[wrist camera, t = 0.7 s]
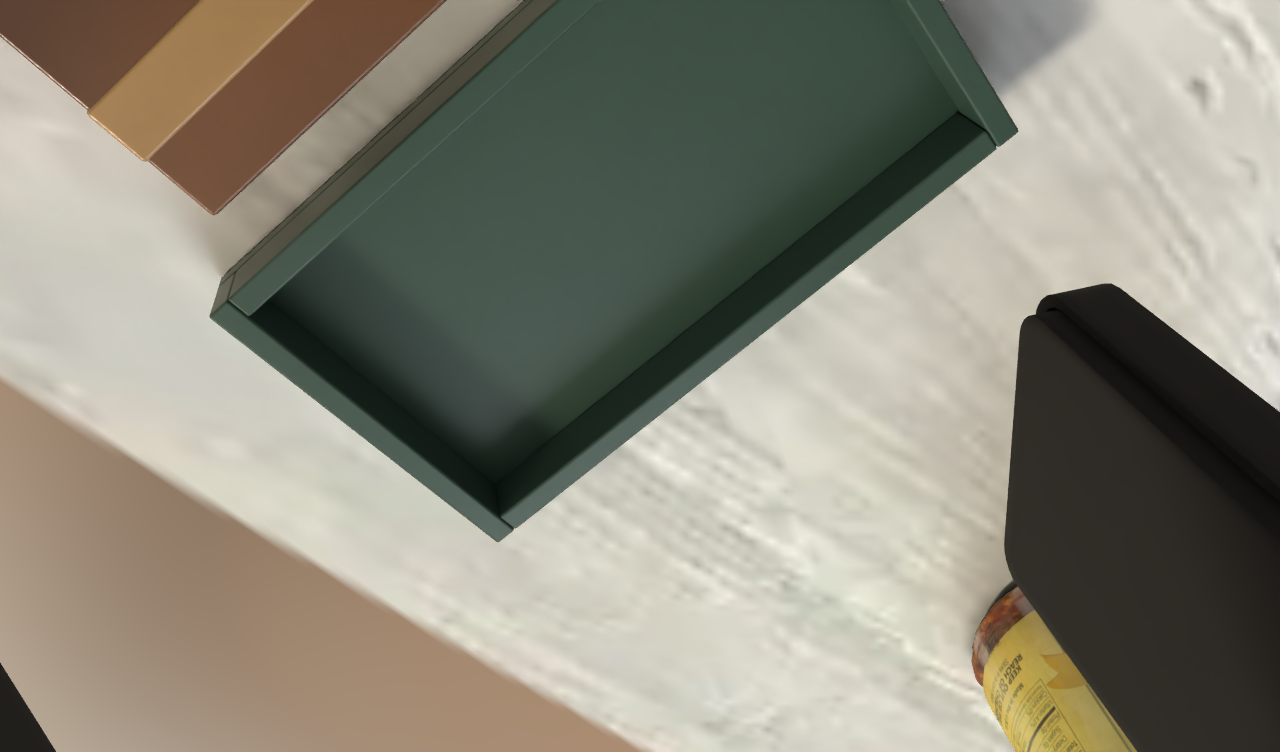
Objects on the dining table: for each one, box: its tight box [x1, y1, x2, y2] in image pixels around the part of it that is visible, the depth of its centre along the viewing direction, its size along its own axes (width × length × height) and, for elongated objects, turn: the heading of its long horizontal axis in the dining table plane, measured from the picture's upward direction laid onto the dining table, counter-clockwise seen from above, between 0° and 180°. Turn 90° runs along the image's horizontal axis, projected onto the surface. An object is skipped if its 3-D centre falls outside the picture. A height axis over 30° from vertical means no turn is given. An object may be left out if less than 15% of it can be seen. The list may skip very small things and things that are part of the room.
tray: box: [210, 0, 1018, 542], centre depth 25 cm, size 16×9×2 cm, turn 129°
